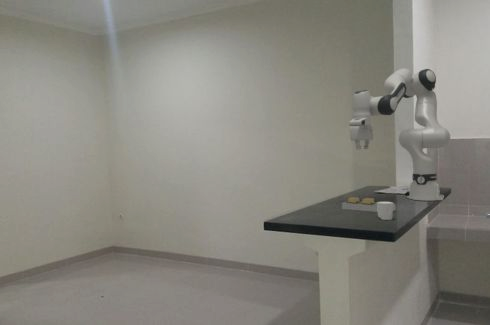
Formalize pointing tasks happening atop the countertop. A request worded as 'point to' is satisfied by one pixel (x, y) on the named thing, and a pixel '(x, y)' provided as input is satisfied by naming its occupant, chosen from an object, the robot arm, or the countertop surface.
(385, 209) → the white cup
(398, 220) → the countertop surface
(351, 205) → the rail
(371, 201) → the tan yellow block
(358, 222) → the countertop surface
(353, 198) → the nut seated
